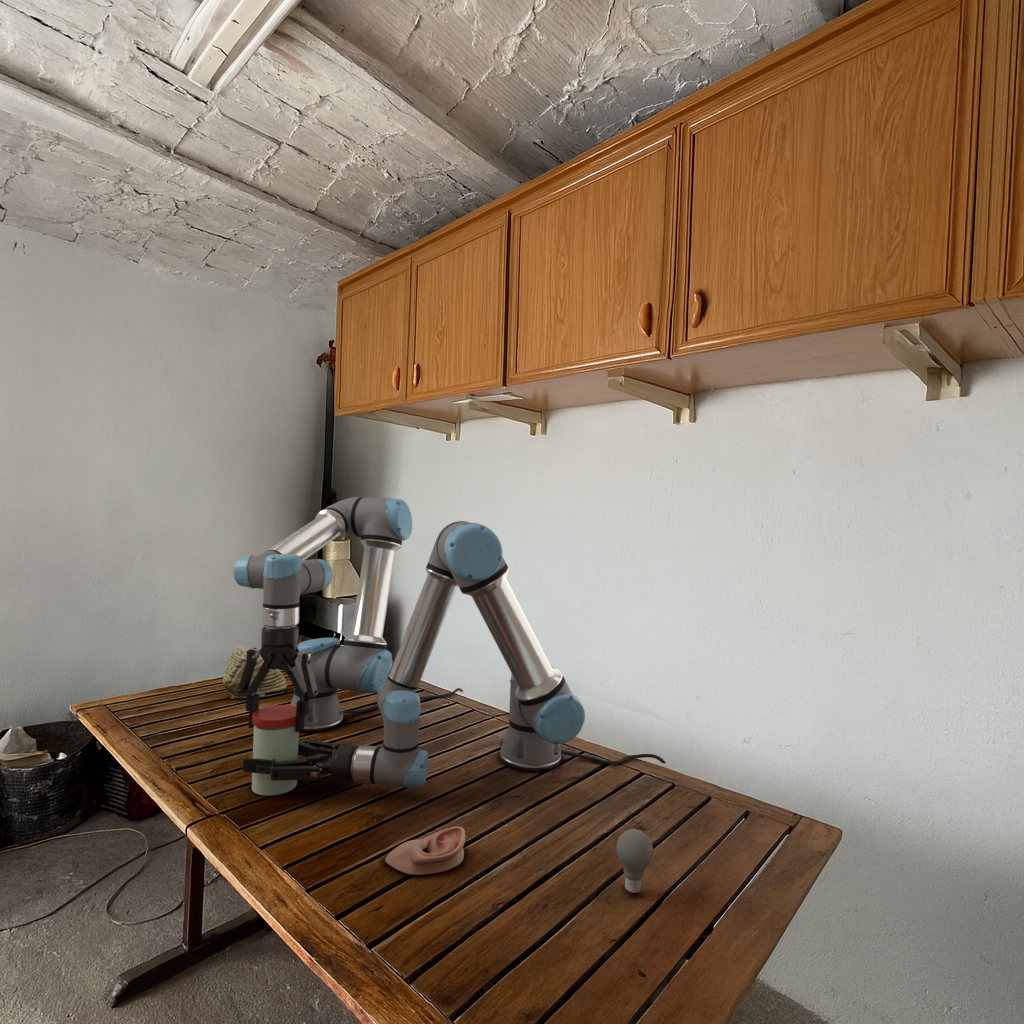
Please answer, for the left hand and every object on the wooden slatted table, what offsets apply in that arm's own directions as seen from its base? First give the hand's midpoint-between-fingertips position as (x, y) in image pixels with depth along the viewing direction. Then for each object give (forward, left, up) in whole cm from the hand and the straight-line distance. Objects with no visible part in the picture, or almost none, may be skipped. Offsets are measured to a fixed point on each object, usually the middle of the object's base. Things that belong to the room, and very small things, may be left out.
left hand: (276, 727), depth 138 cm
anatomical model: (-3, +44, -13) cm, 46 cm away
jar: (0, 0, -13) cm, 13 cm away
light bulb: (-20, +76, -13) cm, 80 cm away
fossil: (-29, -60, -13) cm, 68 cm away
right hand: (+2, -4, -6) cm, 8 cm away
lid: (0, 0, +3) cm, 3 cm away
